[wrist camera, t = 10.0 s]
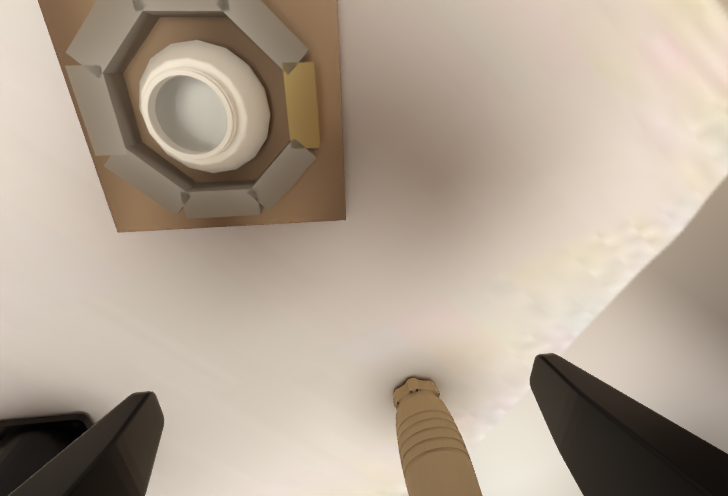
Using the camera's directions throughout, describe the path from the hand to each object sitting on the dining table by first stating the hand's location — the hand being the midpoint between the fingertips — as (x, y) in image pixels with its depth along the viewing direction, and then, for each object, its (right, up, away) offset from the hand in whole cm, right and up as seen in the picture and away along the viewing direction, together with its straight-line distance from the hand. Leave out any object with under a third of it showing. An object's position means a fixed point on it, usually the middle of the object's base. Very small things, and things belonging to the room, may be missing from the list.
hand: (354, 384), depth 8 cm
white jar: (-6, +9, +7) cm, 13 cm away
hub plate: (-6, +10, +8) cm, 14 cm away
